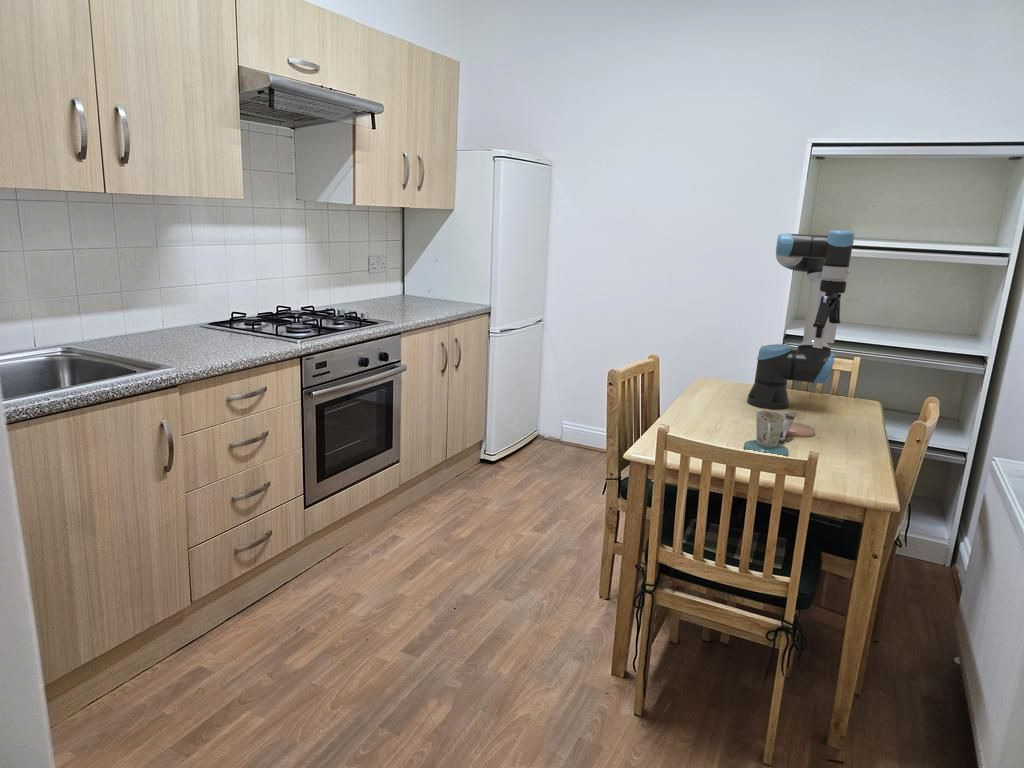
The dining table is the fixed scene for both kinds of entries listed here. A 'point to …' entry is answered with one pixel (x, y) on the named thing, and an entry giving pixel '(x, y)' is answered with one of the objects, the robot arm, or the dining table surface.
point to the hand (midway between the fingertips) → (823, 345)
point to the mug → (769, 428)
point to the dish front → (776, 450)
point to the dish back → (801, 430)
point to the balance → (787, 426)
